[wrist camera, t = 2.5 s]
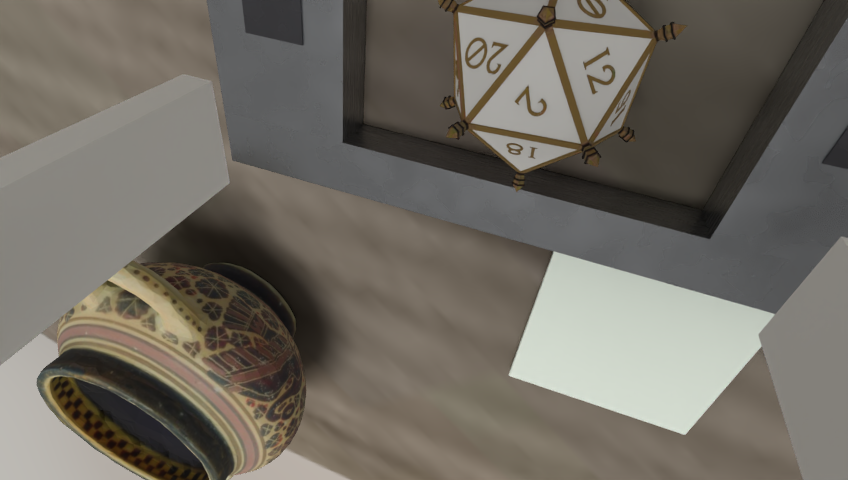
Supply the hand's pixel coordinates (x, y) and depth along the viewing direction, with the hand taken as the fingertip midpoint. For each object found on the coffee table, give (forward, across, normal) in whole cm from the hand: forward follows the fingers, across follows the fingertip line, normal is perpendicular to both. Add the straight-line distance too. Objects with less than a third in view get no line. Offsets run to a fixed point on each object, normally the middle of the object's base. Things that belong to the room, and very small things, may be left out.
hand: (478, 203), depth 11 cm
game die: (+14, 0, 0) cm, 14 cm away
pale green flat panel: (+14, -9, +16) cm, 23 cm away
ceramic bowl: (+14, +19, +25) cm, 35 cm away
